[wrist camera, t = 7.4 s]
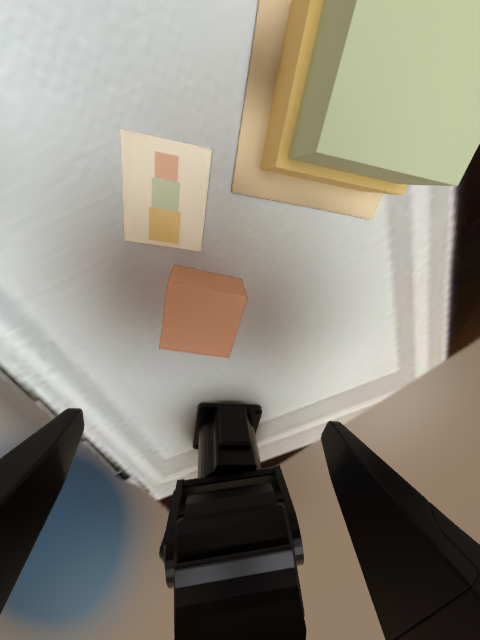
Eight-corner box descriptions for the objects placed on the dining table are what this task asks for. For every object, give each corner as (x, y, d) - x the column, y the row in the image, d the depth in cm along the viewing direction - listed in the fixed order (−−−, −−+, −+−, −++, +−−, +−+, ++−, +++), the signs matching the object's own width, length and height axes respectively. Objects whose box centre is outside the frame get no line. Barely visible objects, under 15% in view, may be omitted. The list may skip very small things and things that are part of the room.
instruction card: (201, 250, 18) (201, 252, 17) (125, 239, 17) (123, 240, 16) (211, 149, 15) (211, 149, 15) (121, 129, 14) (119, 128, 14)
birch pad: (369, 218, 18) (372, 219, 18) (231, 191, 16) (231, 192, 16) (447, 19, 13) (453, 15, 13) (266, -51, 11) (267, -58, 11)
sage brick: (398, 184, 13) (457, 185, 10) (288, 158, 12) (315, 152, 9) (468, 17, 10) (580, -52, 7) (332, -37, 9) (396, -147, 6)
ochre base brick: (362, 191, 17) (402, 195, 13) (260, 169, 15) (275, 167, 12) (414, 46, 13) (487, 0, 10) (290, 2, 12) (324, -68, 9)
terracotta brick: (226, 332, 22) (229, 358, 18) (166, 323, 20) (158, 348, 17) (240, 278, 19) (247, 297, 16) (174, 264, 18) (167, 281, 15)
